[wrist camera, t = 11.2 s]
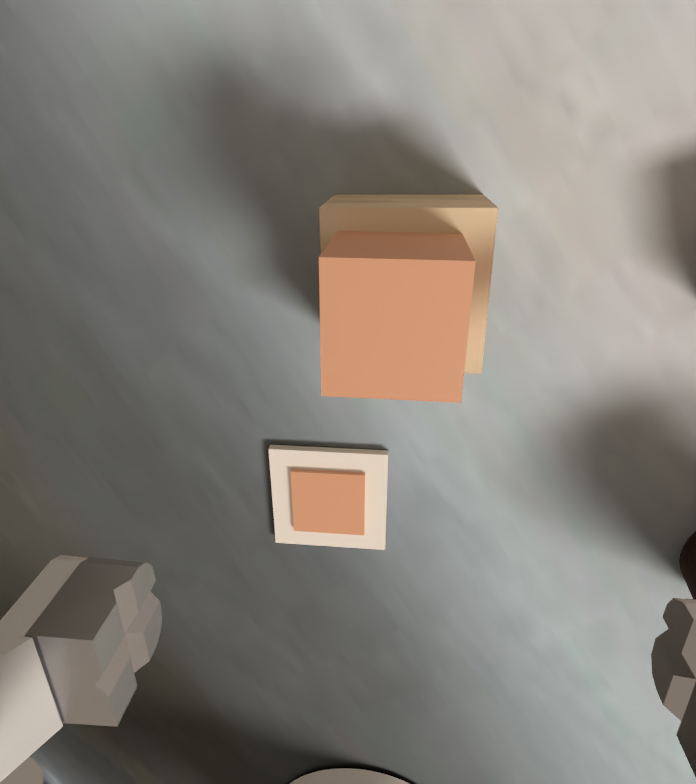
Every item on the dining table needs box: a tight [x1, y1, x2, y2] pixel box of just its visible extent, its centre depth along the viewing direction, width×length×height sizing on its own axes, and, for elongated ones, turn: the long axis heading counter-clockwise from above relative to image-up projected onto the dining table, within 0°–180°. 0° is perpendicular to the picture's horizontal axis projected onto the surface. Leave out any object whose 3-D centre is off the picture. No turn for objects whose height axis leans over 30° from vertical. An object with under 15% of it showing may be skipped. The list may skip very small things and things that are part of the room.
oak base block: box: [319, 194, 498, 374], centre depth 25 cm, size 7×7×5 cm
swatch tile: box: [268, 445, 388, 550], centre depth 34 cm, size 7×7×1 cm
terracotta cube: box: [319, 231, 476, 403], centre depth 21 cm, size 5×5×5 cm
